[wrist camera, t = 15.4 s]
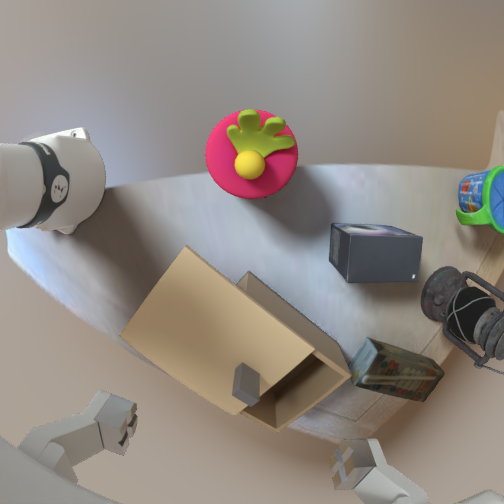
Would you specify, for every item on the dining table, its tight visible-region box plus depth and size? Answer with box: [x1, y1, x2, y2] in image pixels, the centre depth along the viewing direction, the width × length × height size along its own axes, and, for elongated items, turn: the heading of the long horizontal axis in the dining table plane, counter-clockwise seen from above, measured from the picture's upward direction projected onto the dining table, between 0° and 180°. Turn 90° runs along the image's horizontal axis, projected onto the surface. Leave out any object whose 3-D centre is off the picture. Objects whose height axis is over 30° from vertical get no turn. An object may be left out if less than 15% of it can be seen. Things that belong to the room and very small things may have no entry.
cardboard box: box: [236, 271, 352, 433], centre depth 42 cm, size 20×16×10 cm
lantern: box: [421, 266, 504, 374], centre depth 30 cm, size 12×11×30 cm
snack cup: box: [456, 166, 504, 234], centre depth 35 cm, size 16×10×10 cm
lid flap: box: [119, 245, 315, 416], centre depth 33 cm, size 21×17×6 cm
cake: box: [205, 109, 298, 199], centre depth 33 cm, size 10×11×15 cm
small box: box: [329, 223, 423, 283], centre depth 38 cm, size 11×6×10 cm, turn 90°
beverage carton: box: [348, 337, 445, 402], centre depth 45 cm, size 8×19×7 cm, turn 66°
